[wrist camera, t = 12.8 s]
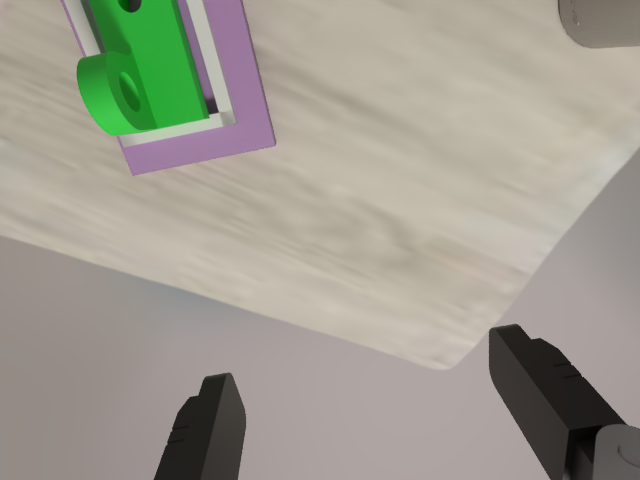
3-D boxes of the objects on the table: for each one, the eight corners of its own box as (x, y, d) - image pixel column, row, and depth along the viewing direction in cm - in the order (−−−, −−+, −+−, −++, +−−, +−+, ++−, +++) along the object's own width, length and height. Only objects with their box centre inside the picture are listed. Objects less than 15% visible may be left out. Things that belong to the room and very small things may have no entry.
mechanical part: (209, 118, 34) (181, 120, 26) (144, 132, 34) (97, 138, 26) (165, -40, 30) (117, -91, 22) (91, -23, 30) (19, -68, 23)
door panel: (214, -115, 30) (206, -134, 27) (276, 142, 38) (274, 148, 35) (41, -75, 30) (15, -89, 27) (139, 171, 38) (127, 179, 36)
